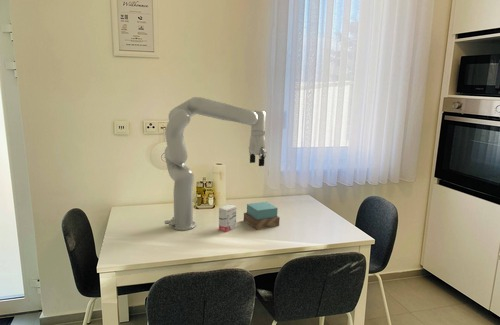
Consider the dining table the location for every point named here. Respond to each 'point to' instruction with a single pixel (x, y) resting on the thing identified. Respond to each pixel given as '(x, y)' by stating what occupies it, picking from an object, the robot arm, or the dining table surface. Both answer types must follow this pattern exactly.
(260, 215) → the teal top block
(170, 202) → the dining table surface
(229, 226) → the ink box
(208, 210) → the dining table surface
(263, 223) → the walnut base block
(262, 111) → the robot arm
